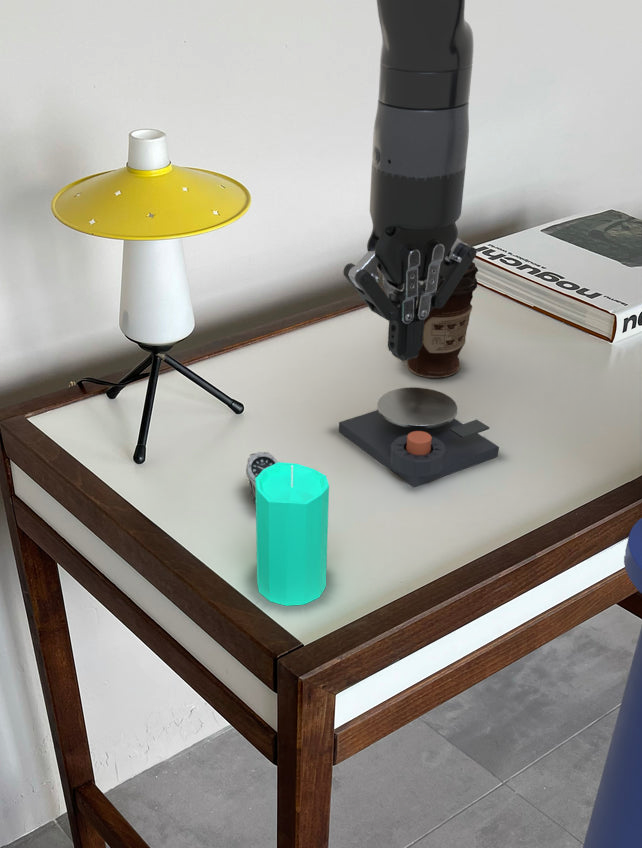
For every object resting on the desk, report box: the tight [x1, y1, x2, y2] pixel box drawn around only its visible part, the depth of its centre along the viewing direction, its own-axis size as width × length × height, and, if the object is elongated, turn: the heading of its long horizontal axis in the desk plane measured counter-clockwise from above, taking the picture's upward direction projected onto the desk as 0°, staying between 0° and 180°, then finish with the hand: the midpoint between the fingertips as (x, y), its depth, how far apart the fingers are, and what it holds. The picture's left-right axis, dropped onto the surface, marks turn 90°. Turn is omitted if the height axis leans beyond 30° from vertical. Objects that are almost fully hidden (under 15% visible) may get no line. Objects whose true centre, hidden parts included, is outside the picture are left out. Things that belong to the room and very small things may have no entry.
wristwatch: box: [245, 451, 279, 505], centre depth 97 cm, size 4×6×5 cm, turn 12°
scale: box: [338, 409, 500, 488], centre depth 106 cm, size 14×12×3 cm
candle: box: [255, 461, 330, 607], centre depth 84 cm, size 6×6×12 cm
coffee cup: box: [406, 261, 479, 378], centre depth 118 cm, size 9×8×13 cm
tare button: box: [406, 431, 432, 455], centre depth 100 cm, size 2×2×2 cm
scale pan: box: [376, 387, 491, 438], centre depth 106 cm, size 12×8×1 cm
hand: (404, 355), depth 91 cm, fingers closed
